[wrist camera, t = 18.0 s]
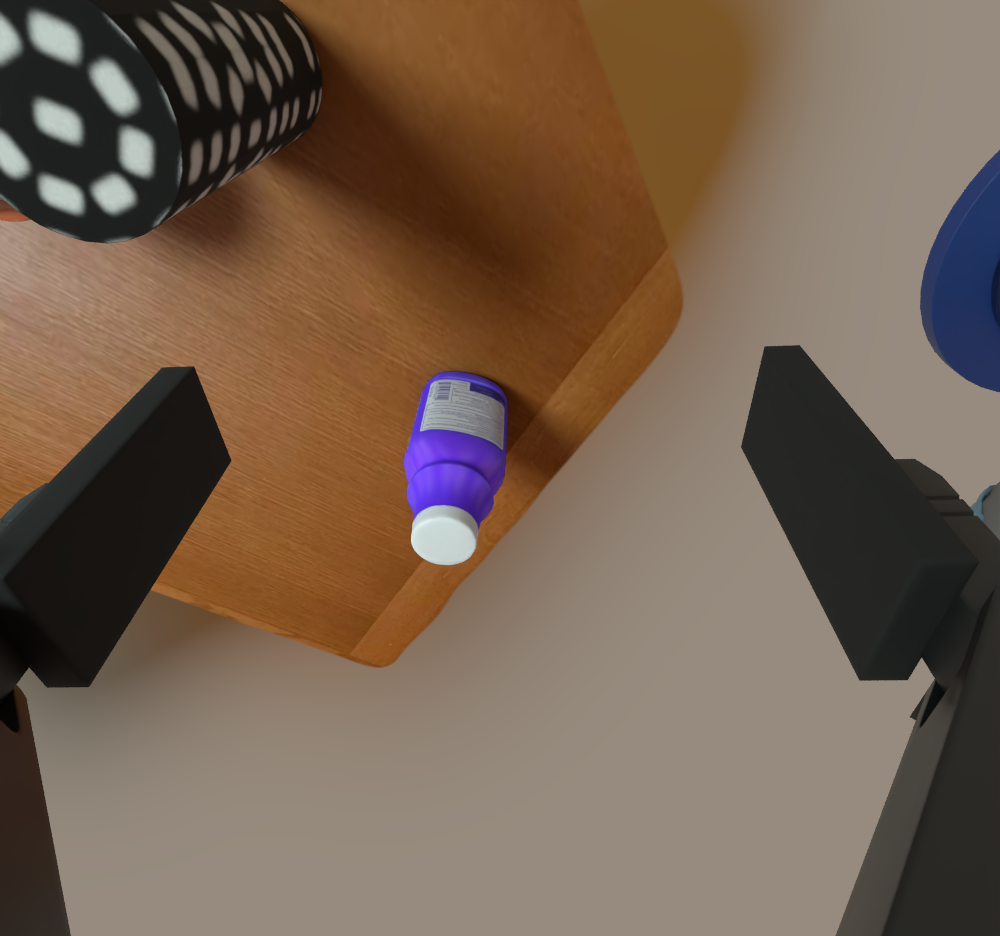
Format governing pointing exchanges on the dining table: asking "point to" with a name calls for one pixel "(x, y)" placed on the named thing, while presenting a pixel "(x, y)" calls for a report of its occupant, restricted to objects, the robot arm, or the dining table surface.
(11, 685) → the robot arm
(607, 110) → the dining table surface
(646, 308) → the dining table surface
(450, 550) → the bottle
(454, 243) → the dining table surface
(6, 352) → the dining table surface
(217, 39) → the white-spotted black cylinder
